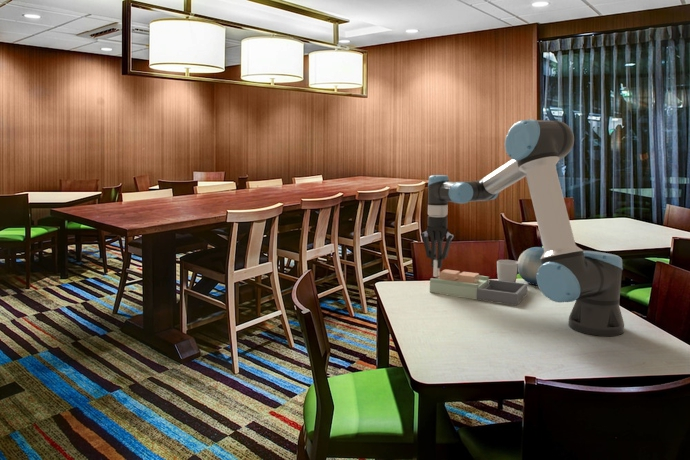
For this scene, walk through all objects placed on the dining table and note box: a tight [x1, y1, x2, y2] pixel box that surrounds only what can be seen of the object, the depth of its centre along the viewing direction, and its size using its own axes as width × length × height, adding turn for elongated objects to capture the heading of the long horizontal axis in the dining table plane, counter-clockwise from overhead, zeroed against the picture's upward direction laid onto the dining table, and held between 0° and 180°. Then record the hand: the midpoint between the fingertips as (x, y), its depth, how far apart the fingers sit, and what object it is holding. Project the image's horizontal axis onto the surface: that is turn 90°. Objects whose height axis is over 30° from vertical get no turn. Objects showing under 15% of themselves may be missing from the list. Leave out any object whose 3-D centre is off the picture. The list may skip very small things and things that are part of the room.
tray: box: [476, 278, 528, 306], centre depth 189 cm, size 16×14×4 cm
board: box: [429, 272, 490, 300], centre depth 198 cm, size 15×18×5 cm
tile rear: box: [438, 269, 461, 281], centre depth 199 cm, size 6×6×3 cm
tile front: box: [458, 271, 480, 284], centre depth 195 cm, size 6×6×3 cm
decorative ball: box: [517, 246, 544, 286], centre depth 206 cm, size 15×15×15 cm
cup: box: [496, 259, 519, 283], centre depth 203 cm, size 8×8×10 cm
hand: (436, 275), depth 202 cm, fingers closed
